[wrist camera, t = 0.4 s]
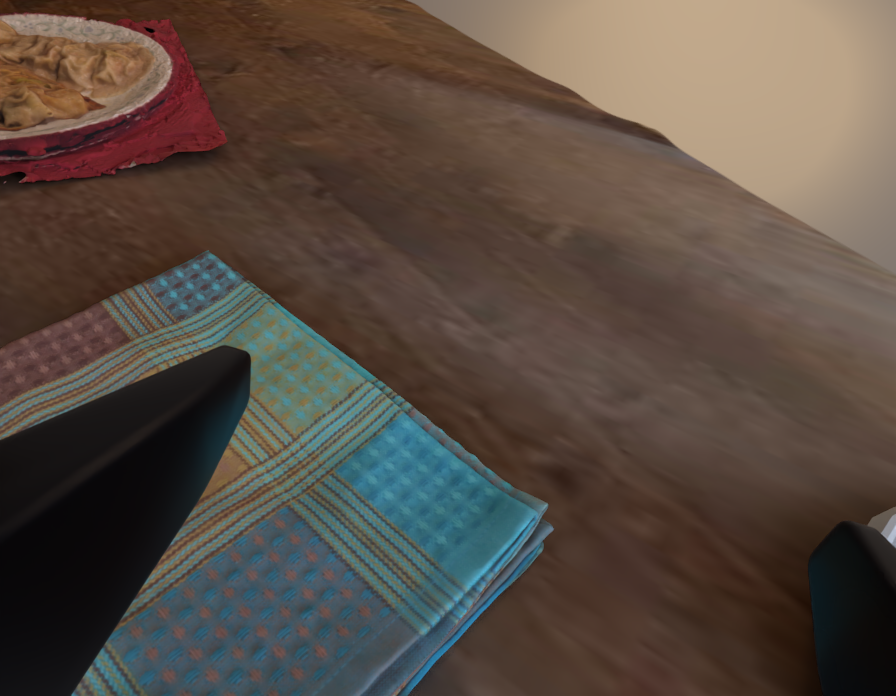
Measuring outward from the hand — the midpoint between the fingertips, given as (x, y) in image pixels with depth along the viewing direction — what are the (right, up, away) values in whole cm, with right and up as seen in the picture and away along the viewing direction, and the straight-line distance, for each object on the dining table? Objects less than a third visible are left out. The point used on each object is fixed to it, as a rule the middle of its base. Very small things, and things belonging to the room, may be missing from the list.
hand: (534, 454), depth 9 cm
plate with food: (-32, +20, +38) cm, 54 cm away
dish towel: (-11, -5, +17) cm, 21 cm away
